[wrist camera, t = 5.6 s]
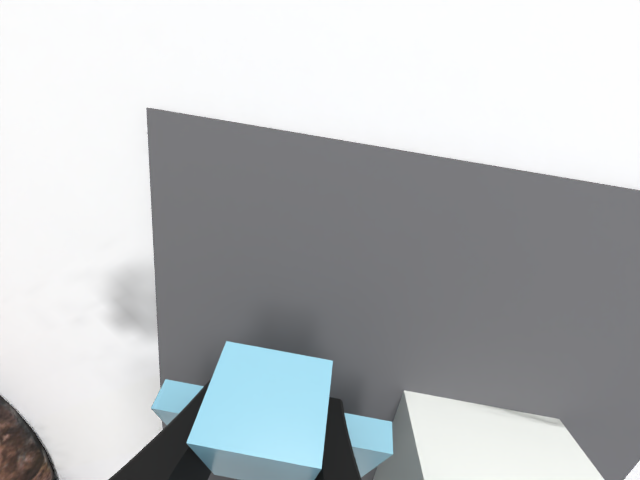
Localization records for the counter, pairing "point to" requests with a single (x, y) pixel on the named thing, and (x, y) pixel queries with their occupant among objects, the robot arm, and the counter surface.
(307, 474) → the lid
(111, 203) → the counter surface
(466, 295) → the mat
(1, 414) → the cooking pot
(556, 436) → the tub
